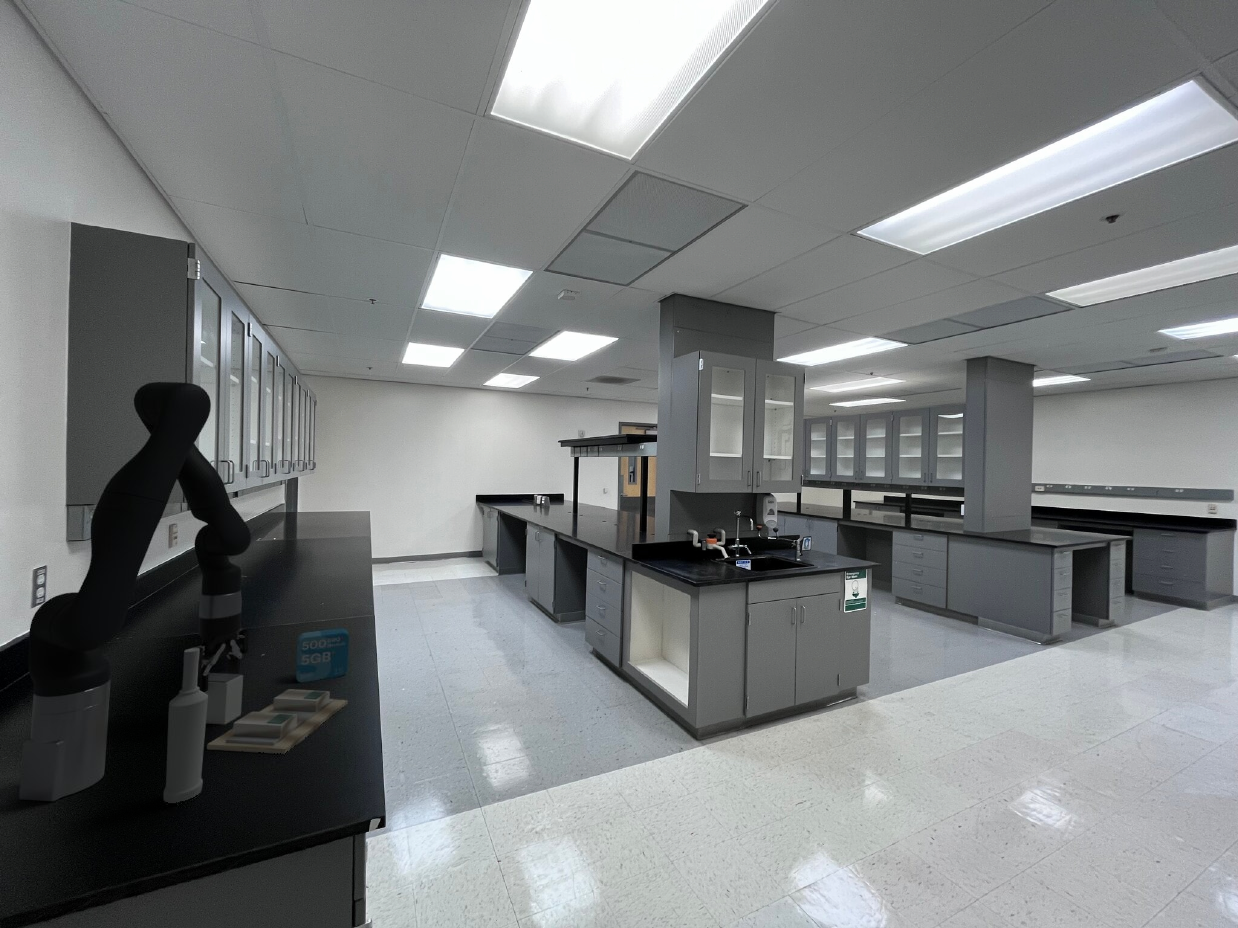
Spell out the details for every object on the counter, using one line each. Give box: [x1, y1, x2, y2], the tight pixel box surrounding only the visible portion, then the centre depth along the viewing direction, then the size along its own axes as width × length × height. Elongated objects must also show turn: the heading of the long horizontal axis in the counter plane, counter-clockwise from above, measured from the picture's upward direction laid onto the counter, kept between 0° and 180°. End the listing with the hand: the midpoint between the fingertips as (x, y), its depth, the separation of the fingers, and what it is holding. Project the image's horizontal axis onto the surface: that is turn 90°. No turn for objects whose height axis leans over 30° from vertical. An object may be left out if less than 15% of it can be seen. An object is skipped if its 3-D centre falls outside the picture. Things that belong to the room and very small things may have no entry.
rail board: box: [206, 688, 349, 755], centre depth 112 cm, size 22×16×4 cm
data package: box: [295, 628, 350, 683], centre depth 138 cm, size 12×4×12 cm, turn 124°
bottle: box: [163, 648, 208, 803], centre depth 87 cm, size 5×5×25 cm
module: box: [204, 672, 244, 725], centre depth 113 cm, size 4×9×9 cm, turn 88°
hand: (218, 683), depth 114 cm, fingers open, 8 cm apart
